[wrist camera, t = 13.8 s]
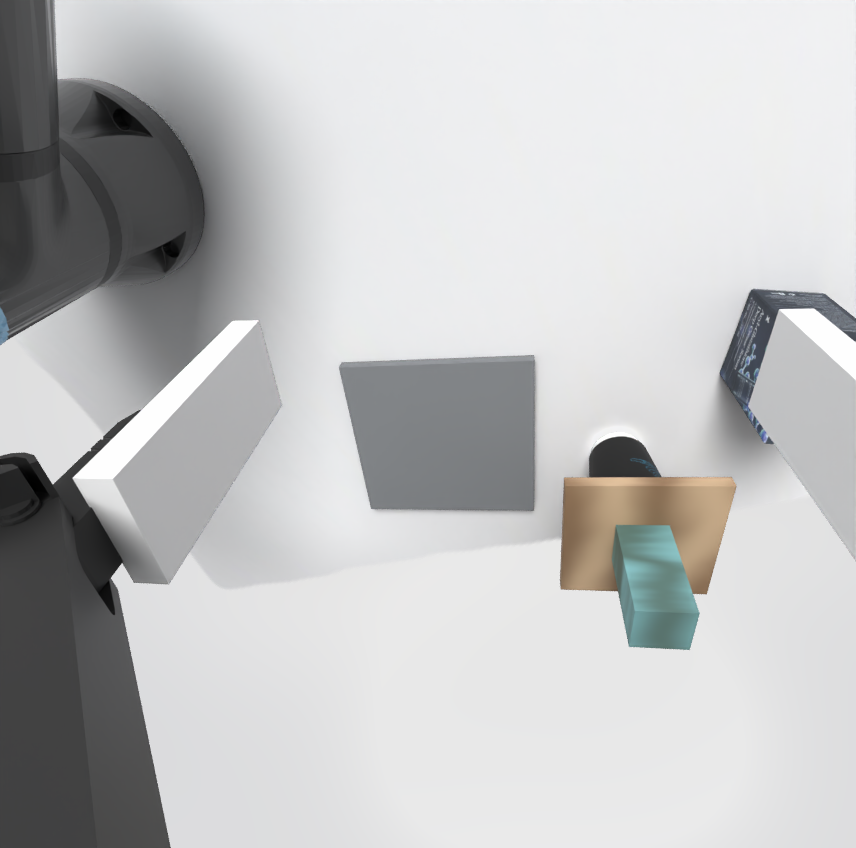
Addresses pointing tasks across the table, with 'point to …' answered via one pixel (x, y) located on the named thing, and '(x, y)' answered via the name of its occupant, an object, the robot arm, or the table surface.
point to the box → (756, 334)
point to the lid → (646, 548)
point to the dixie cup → (620, 458)
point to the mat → (444, 431)
